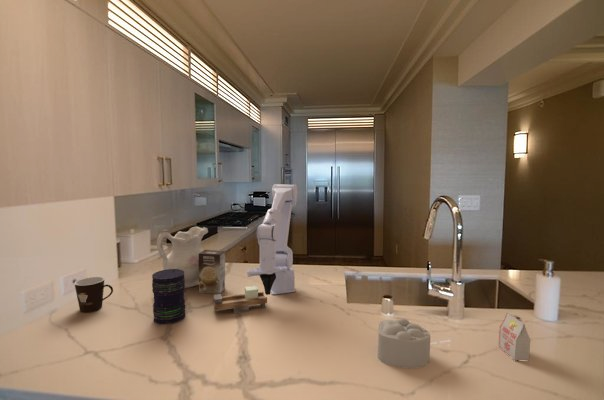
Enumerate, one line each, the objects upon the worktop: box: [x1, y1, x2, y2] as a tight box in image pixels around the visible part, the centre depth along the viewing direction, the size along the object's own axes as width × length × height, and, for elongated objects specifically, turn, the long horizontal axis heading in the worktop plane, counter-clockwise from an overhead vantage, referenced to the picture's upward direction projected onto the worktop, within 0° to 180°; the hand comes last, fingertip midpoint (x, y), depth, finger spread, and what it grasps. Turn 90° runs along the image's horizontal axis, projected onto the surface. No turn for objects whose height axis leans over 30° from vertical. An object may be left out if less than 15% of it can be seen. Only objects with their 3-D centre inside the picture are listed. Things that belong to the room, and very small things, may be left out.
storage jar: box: [151, 269, 186, 326], centre depth 102 cm, size 10×10×15 cm
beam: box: [212, 291, 268, 314], centre depth 110 cm, size 18×6×5 cm, turn 111°
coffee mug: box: [74, 276, 114, 314], centre depth 108 cm, size 12×9×10 cm
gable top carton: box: [498, 312, 531, 361], centre depth 84 cm, size 4×7×10 cm, turn 179°
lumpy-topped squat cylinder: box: [377, 317, 431, 369], centre depth 82 cm, size 10×13×9 cm
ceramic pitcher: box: [156, 226, 209, 289], centre depth 133 cm, size 22×20×25 cm
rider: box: [244, 285, 259, 300], centre depth 111 cm, size 4×4×4 cm
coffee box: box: [198, 249, 226, 295], centre depth 126 cm, size 9×6×16 cm
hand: (267, 293), depth 113 cm, fingers closed
